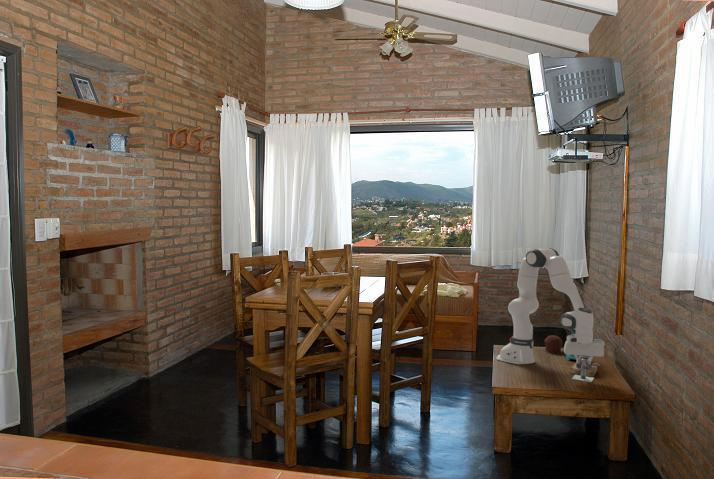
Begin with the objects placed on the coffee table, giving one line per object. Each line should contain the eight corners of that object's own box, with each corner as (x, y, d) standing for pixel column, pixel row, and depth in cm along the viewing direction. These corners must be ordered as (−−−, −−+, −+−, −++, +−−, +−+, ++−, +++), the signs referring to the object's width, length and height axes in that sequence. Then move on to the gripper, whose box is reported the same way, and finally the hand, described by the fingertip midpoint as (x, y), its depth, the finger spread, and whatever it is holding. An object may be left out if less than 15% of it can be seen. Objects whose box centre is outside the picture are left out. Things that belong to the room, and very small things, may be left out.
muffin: (563, 354, 359) (563, 338, 358) (545, 352, 361) (545, 337, 360) (561, 349, 370) (561, 334, 369) (543, 348, 373) (543, 333, 372)
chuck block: (570, 373, 318) (570, 359, 317) (575, 367, 328) (575, 354, 327) (597, 377, 310) (597, 363, 310) (600, 371, 320) (601, 358, 320)
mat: (571, 379, 307) (571, 378, 307) (574, 375, 314) (574, 374, 314) (591, 382, 302) (591, 381, 302) (594, 378, 308) (594, 377, 308)
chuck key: (579, 375, 312) (579, 357, 311) (584, 376, 311) (584, 357, 310) (581, 380, 304) (582, 360, 303) (587, 380, 304) (587, 361, 303)
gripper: (603, 338, 307) (602, 363, 308) (563, 336, 311) (563, 360, 312) (605, 340, 301) (605, 366, 302) (565, 338, 305) (564, 363, 306)
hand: (583, 363), depth 307 cm, fingers open, 4 cm apart
